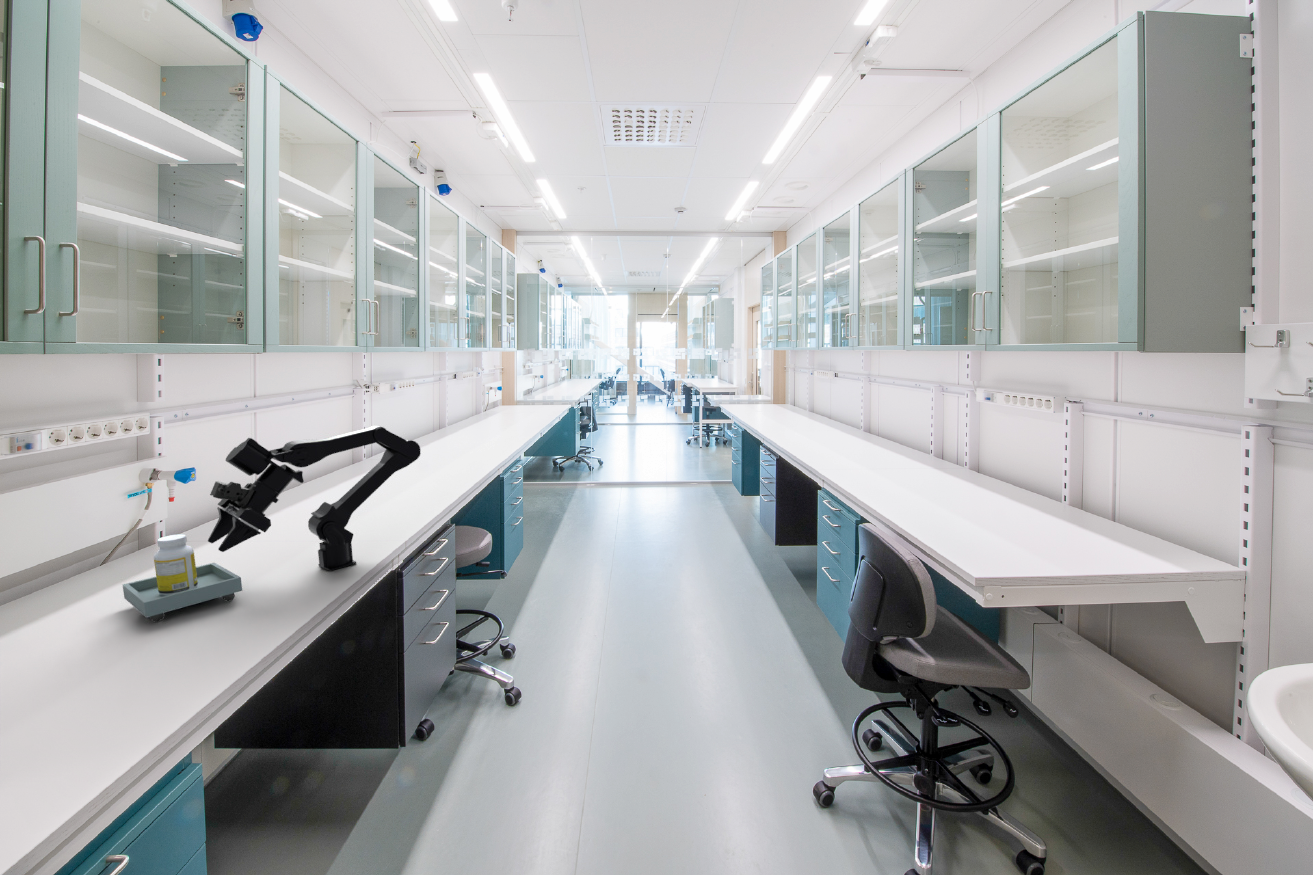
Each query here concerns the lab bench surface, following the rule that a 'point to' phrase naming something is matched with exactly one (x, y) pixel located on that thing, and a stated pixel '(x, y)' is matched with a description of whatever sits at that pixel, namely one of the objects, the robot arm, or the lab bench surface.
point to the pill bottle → (175, 565)
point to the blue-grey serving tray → (210, 586)
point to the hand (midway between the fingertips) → (214, 546)
